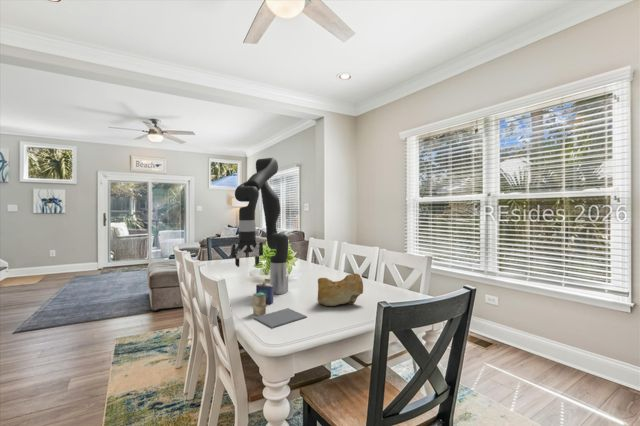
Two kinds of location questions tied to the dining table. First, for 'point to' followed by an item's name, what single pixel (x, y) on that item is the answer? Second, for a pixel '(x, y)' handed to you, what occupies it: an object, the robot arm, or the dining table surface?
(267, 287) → the flask
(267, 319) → the rubber mat
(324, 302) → the rough brown rock
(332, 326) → the dining table surface
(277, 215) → the robot arm
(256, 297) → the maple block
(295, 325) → the dining table surface
